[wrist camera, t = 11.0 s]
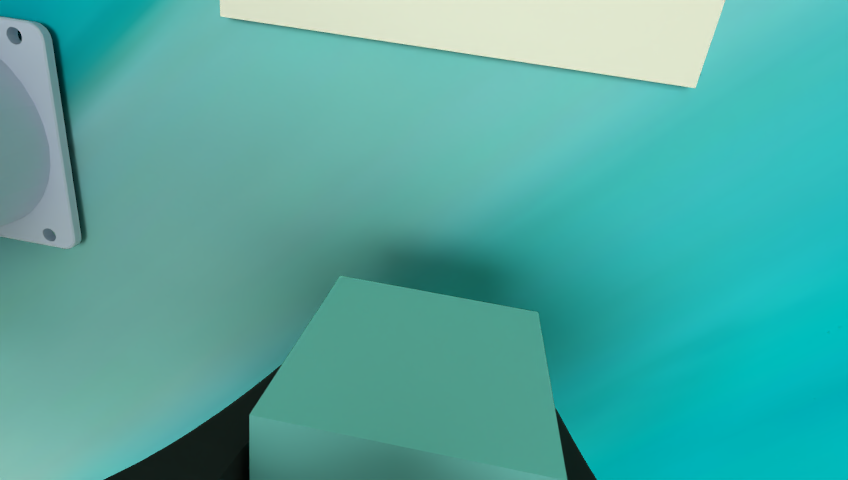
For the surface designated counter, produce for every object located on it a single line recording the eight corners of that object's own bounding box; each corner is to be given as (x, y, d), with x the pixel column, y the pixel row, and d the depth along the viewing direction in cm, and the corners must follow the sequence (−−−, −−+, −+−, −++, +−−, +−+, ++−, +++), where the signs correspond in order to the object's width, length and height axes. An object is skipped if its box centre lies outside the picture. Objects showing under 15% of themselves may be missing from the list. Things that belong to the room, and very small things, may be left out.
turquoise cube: (328, 426, 14) (250, 610, 10) (340, 275, 12) (249, 414, 8) (498, 461, 14) (501, 669, 9) (538, 312, 12) (567, 481, 7)
